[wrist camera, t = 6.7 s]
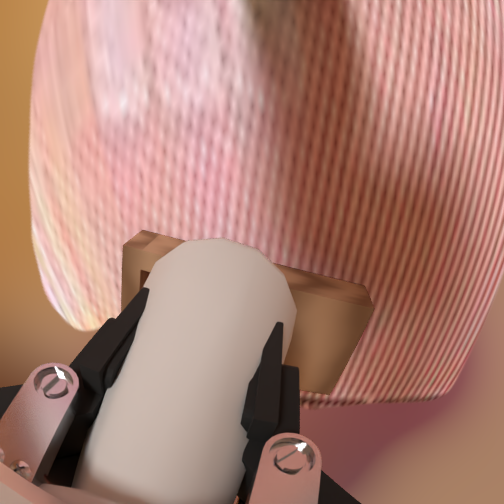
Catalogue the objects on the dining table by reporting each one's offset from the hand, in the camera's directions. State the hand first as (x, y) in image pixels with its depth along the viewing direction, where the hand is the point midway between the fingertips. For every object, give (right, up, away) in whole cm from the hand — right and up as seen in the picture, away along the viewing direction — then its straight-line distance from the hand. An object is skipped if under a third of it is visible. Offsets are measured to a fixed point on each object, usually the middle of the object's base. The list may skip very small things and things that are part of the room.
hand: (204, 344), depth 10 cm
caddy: (0, -3, +24) cm, 25 cm away
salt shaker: (+1, +2, +4) cm, 4 cm away
